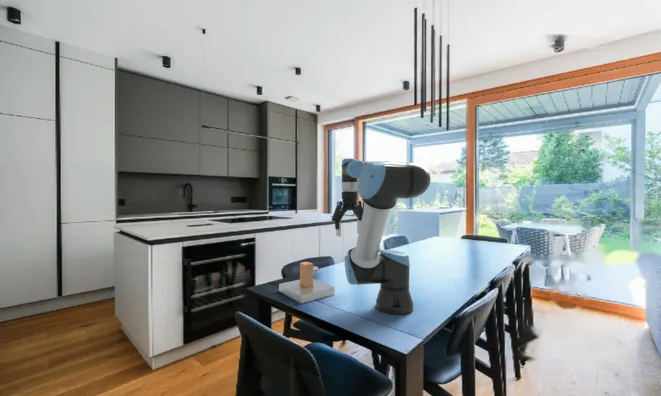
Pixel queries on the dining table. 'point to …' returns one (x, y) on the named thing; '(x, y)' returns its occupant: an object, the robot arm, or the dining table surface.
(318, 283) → the plate
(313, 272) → the showerhead
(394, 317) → the dining table surface
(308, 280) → the keyed peg
